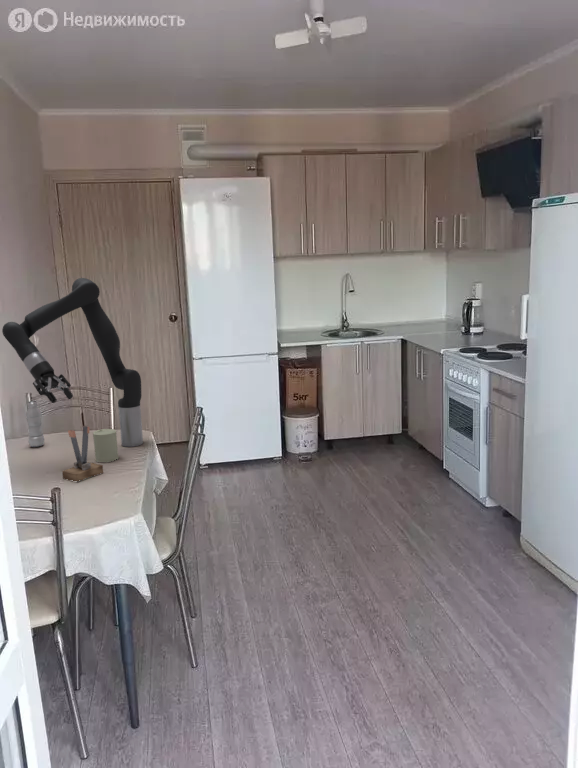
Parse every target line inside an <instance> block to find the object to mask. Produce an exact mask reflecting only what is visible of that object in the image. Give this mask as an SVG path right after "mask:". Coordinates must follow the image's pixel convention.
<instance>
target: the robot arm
mask: <svg viewBox="0 0 578 768" xmlns="http://www.w3.org/2000/svg"><path fill="white" fill-rule="evenodd" d="M99 296H100V288H99V286H98V284H96V283H95V282H94V281H92V280H91V279H89V278H86V277H79V278H77V279H75V280H74V282H73V283H72V286H71V292H70V293H69V294H66V295H65V296H63V297H61V298H60V299H57V300H54V301H52V302H49V303H46V304H44V305H42V306H40V307H38V308H36V309H34V310H33V311H31V312H30V313H28V314H26V315H25V317H24V320H23V321H22V322H21V323H17V322H16V321H8V322H6V323H5V324H4V325H3V326H2V328H1V329H2V331H1V332H2V335H3V337H4V339H5V340H6V342H8V343H9V344H10V345H11V347H12V348H13V349H14V350H15V352H16V353H17V355H18V357H19V359H20V360H21V361H22V362H23V364H24V366H25V367H26V369H27V370H28V371H29V374H30V375H31V376H32V377H33V379H34V381H33V382H32V385H33V387H34V388H35V390H36V391H37V393H38V395H40V396H45V397H46V398H47V399H48V401H50V402H51V404H55V403H56V402H57V397H56V396H55V395H54V394H53V393H52V391H51V390H52V389H53V390H54V389H56V390H60V391H62V393H63V394H64V396H65V397H66V398H67V399H68V400H72V399H73V397H74V395H73V393H72V391H71V390H70V387H71V386H72V385H71V383H70V382H69V381H68V379H67V378H66V377H65V376H64V374H62V373H61V374H59V375H56V374H55V369H54V368H53V366H52V365H51V363H49V361H48V360H47V358H45V357H46V356H44V355H43V354H42V353H41V351H40V350H39V349H38V347H37V346H36V345H35V344H34V343H33V342H32V341H31V339H30V338H31V337H33V336H34V335H35V333H37V331H39V330H41V329H43V328H44V327H46V326H48V325H49V324H51V323H52V322H55V321H56V320H57V319H60V318H61V317H62V316H65V315H67V314H68V313H71V312H73V311H75V310H78V309H79V308H81V309H82V312H83V314H84V316H85V318H86V321H87V325H88V327H89V329H90V331H91V335H92V337H93V339H94V341H95V343H96V345H97V347H98V349H99V351H100V353H101V356H102V357H103V361H104V363H105V364H106V367H107V370H108V374H109V376H110V378H111V382H112V384H113V386H114V387H115V388H117V389H119V390H120V391H121V390H122V391H123V396H122V397H121V398H119V399H118V401H117V404H118V405H117V407H118V416H119V419H118V420H119V429H120V441H121V442H120V443H121V446H122V447H128V448H131V447H138V446H141V445H143V443H144V438H143V436H144V435H143V424H142V413H141V412H142V410H141V401H142V400H141V399H142V379H141V374H140V373H139V372H138V371H137V370H135V369H131V368H126V367H125V365H124V363H123V361H122V359H121V355H120V350H121V340H120V337H119V335H118V333H117V330H116V328H115V326H114V324H113V323H112V321H111V320H110V318H109V316H108V315H107V314H106V312H105V310H104V309H103V307H102V306H101V303H100V300H99Z"/></svg>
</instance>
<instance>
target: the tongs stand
mask: <svg viewBox="0 0 578 768" xmlns="http://www.w3.org/2000/svg"><path fill="white" fill-rule="evenodd" d="M61 472H62V479H63V480H66V479H68V480H67V481H70V480H73V481H79V480H82V481H84V480H83V479H85V478H88V477H91V476H93V477H95V476H94V475H96V476H98V475H97V474H99V475H101V474H103V473H104V465H102V464H99V463H94V462H90V461H87V463H85V464H83V465H82V468H80V467H78V464H77V461H76V462H74V463H73V466H72V467H69V468H68V469H64V470H62V471H61ZM100 473H101V474H100ZM91 478H92V477H91ZM88 479H89V478H88ZM85 480H86V479H85ZM73 481H72V482H73Z"/></svg>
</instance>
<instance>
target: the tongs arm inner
mask: <svg viewBox="0 0 578 768" xmlns="http://www.w3.org/2000/svg"><path fill="white" fill-rule="evenodd" d="M90 430H91V429H90V426H87V425H83V426H82V439H81V440H82V441H81V458H82V462H83V464H85V463H87V462H88V449H89V434H90Z"/></svg>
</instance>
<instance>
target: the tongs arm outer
mask: <svg viewBox="0 0 578 768" xmlns="http://www.w3.org/2000/svg"><path fill="white" fill-rule="evenodd" d="M67 433H68V436H69V438H70V440H71V444H72V449H73V451H74V452H73V453H74V455H75V459H76V462H77V464H78V467H80V468H82V465H83V462H82V458H81V456H82V453H81V451H80V447H79V442H78V440H77V433H76V431H75V430H72V429H68V430H67Z"/></svg>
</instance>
